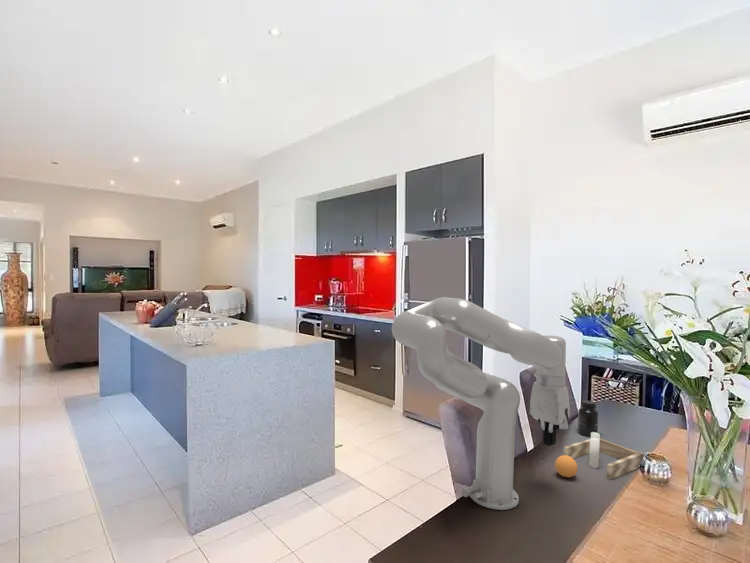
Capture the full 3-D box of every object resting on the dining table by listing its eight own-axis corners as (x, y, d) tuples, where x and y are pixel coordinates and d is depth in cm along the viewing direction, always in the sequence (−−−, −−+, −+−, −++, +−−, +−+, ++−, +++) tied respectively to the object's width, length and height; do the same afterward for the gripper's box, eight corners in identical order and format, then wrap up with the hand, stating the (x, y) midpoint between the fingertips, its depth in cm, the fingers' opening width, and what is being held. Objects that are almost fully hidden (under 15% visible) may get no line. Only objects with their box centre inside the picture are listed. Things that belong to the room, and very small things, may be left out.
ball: (569, 483, 120) (569, 462, 120) (550, 474, 125) (551, 454, 125) (581, 478, 123) (582, 458, 123) (563, 469, 128) (563, 450, 128)
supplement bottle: (600, 438, 154) (601, 405, 154) (580, 436, 156) (581, 404, 155) (594, 431, 161) (595, 400, 161) (575, 429, 162) (576, 398, 162)
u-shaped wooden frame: (610, 479, 123) (611, 466, 123) (563, 459, 136) (564, 446, 136) (643, 466, 132) (643, 453, 132) (596, 448, 145) (596, 436, 145)
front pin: (595, 468, 130) (596, 441, 129) (587, 465, 132) (588, 438, 132) (600, 466, 131) (601, 439, 131) (592, 463, 133) (593, 436, 133)
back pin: (596, 462, 134) (597, 435, 134) (588, 459, 136) (589, 433, 136) (600, 460, 135) (601, 434, 135) (592, 457, 138) (593, 431, 138)
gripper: (520, 375, 123) (519, 437, 124) (566, 388, 111) (565, 457, 111) (536, 372, 127) (535, 432, 128) (583, 384, 114) (582, 451, 115)
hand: (549, 444), depth 120 cm, fingers closed
